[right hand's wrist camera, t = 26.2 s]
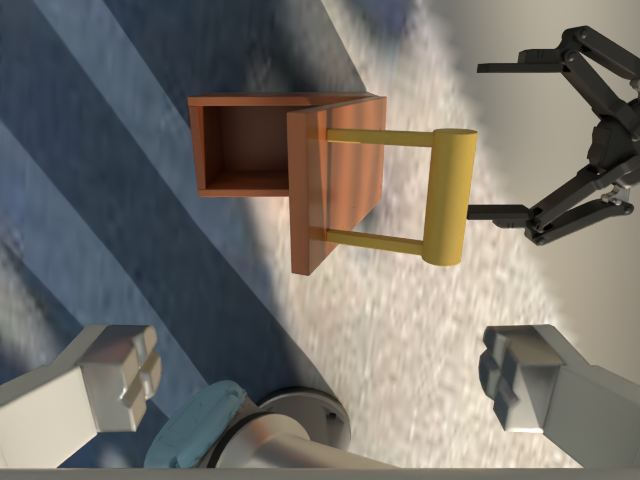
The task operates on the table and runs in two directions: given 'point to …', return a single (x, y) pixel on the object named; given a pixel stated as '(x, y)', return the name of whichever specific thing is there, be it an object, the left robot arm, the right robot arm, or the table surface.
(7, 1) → the table surface
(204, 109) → the chest
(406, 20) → the table surface
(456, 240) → the wooden door with handle
